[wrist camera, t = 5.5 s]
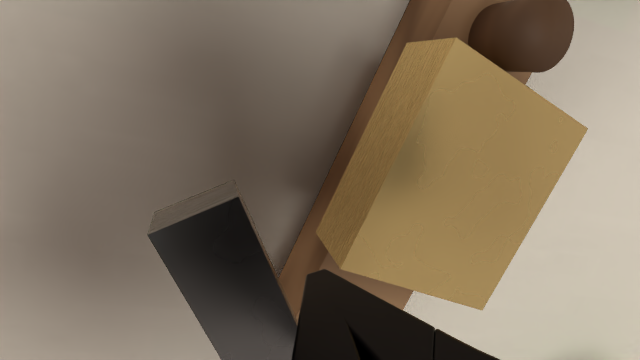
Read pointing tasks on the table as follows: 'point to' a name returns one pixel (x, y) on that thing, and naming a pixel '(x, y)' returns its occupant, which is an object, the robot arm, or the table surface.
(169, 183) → the table surface
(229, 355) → the lever
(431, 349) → the robot arm
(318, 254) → the body
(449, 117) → the gold metal plate
